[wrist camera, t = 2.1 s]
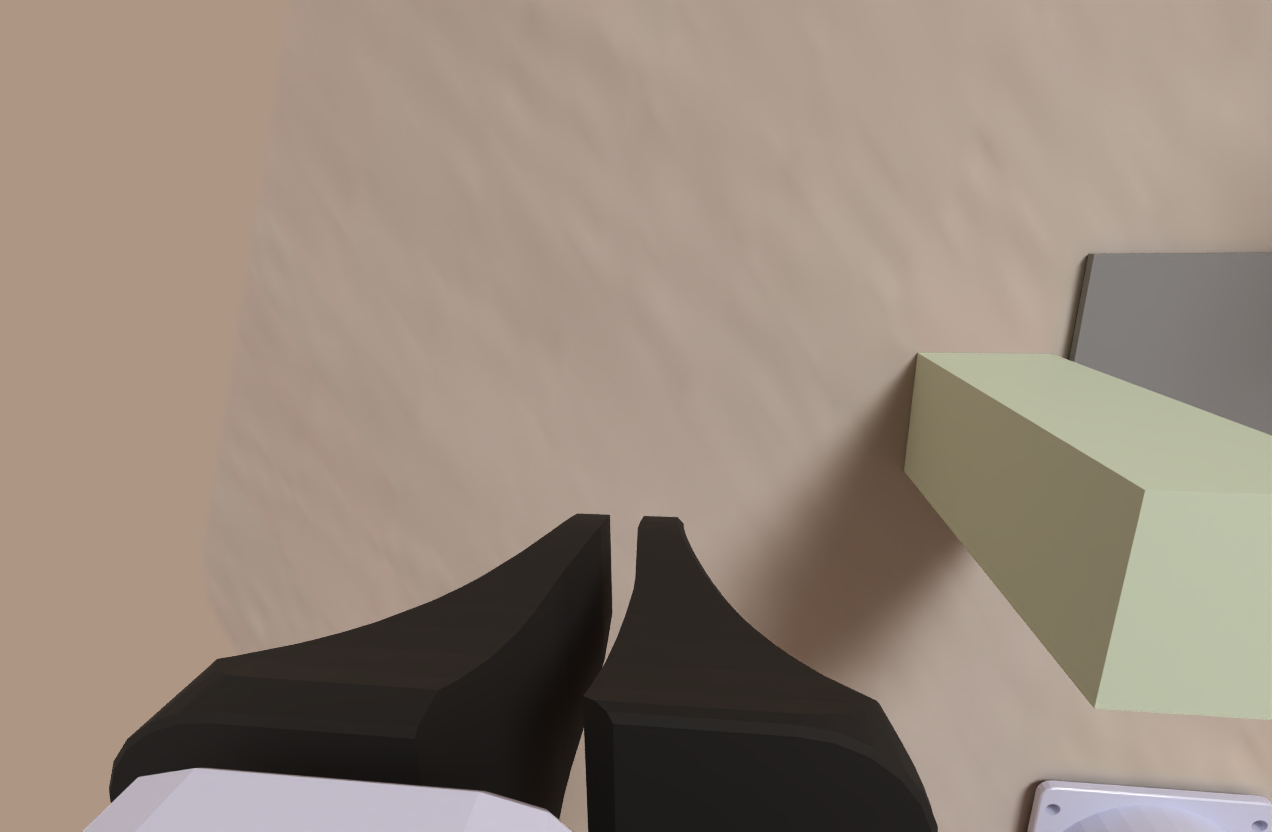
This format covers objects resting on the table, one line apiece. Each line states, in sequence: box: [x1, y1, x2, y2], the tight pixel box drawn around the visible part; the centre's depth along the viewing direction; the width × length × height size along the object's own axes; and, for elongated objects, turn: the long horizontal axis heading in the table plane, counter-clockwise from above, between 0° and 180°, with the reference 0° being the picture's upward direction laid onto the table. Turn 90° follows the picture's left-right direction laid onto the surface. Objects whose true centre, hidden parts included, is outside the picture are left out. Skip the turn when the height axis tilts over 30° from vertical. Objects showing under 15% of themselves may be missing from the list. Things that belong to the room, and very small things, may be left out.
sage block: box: [904, 353, 1272, 720], centre depth 15 cm, size 4×4×11 cm
